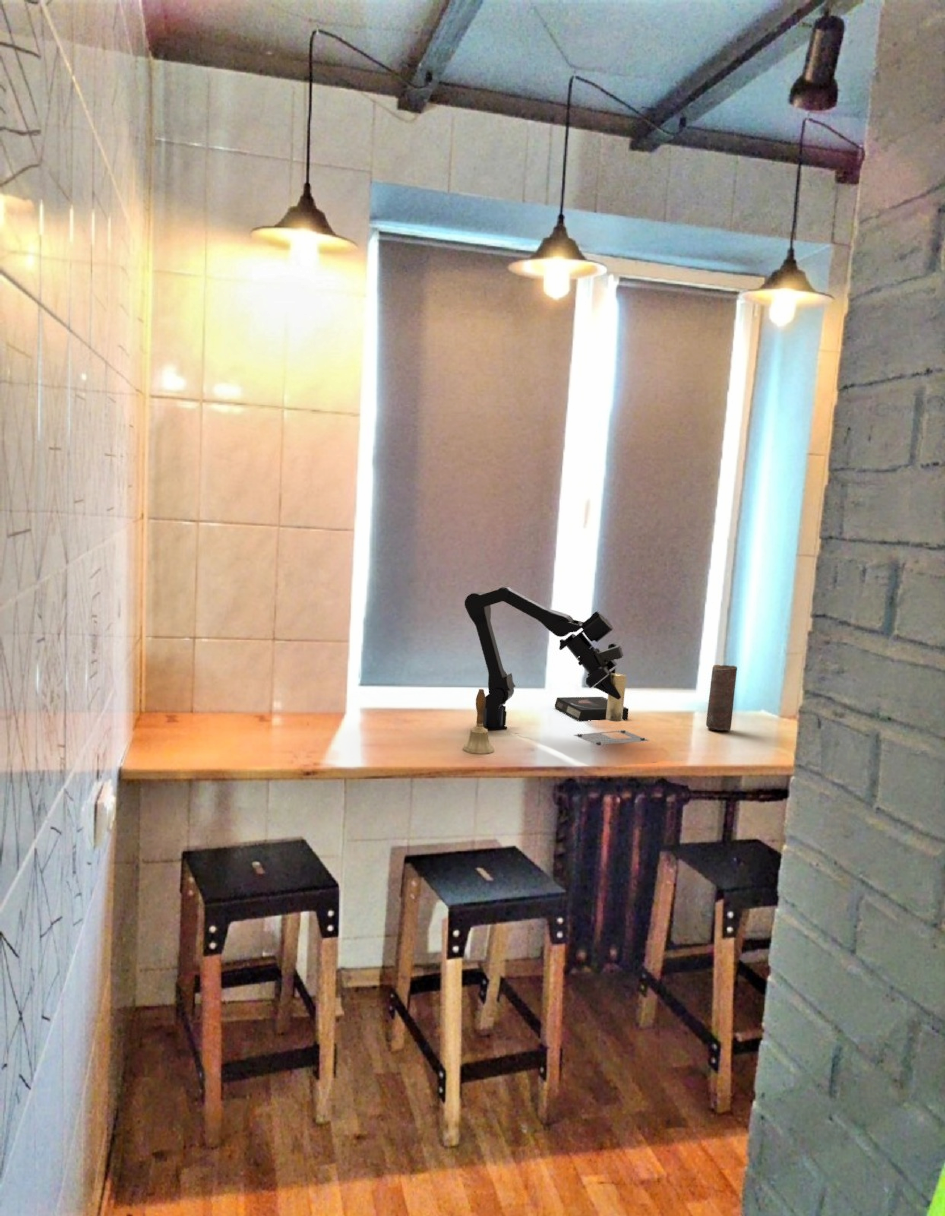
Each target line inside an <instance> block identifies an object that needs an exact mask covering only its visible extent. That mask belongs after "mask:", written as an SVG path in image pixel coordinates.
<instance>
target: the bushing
mask: <svg viewBox="0 0 945 1216" xmlns="http://www.w3.org/2000/svg"><path fill="white" fill-rule="evenodd" d="M612 682H613V683H614V685H615V687H616V688H617V690H618V692H619V694H620V695H621V698H620V699H616V698H614V697H612V696H610V695H609V694H607V699H608V701H607V712H606V720H605V721H609V722H617V723H618V722H623V720H622V715H623V706H624V702H625V695H626V694H625V691H626V682H627V675H626V674H622V673H617V672H616V673H612Z"/></svg>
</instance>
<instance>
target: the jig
mask: <svg viewBox="0 0 945 1216" xmlns="http://www.w3.org/2000/svg"><path fill="white" fill-rule="evenodd" d="M610 733H620V734H622V735H625V736H628V737H624V738H614V737H610V736H608V735H605V734H610ZM573 736H574V737H577V738H579V739H582V740H584V741H586V742H589V743H591V744H593V745H596V746H607V745H617V744H627V743H636V742H637V743H638V742H648V741H650V740H649V739H647V738H645V737H642V736H639V735H637V734H634V733H631V732H629V731H626V729H625V730H624V729H621V730H615V731H614V730H613V731H603V732H590V733H577V734H573Z"/></svg>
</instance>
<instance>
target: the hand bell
mask: <svg viewBox="0 0 945 1216" xmlns="http://www.w3.org/2000/svg"><path fill="white" fill-rule="evenodd" d="M485 704H486V694H485V690H484V689H483V688H479V689H478V692H477V695H476V697H475V709H476V714H477V715H476V723H475V724H476V725H475V727H472V728H471V729H470V733H469V737H468V740H467V741H466V743H465V744H464V745H463V746H462V751H464V752H466V753H470V754H476V755H487V754H491V753H493V752H494V751H495V748H494V747H493V746H492V744H491V743H490V742H491V741H490V739H489V730H487V729H485V728H484V727H483V712H484V709H485Z"/></svg>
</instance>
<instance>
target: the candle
mask: <svg viewBox="0 0 945 1216" xmlns="http://www.w3.org/2000/svg"><path fill="white" fill-rule="evenodd" d="M737 671H738V666H736V665H729V664H728V665H726V664H724V665H721V664H713V666H712V670H711V676H710V677H711V678H710V688H709V697H708V705H707V713H706V723H705V725H706V727H707V728H708V729H709V730H714V731H716V730H717V731H720V732H721V731H731V729H732V719H733V712H734V711H733V710H734V700H735V692H736V691H735V689H736V681H737V680H736V679H737V674H738V673H737Z"/></svg>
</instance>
